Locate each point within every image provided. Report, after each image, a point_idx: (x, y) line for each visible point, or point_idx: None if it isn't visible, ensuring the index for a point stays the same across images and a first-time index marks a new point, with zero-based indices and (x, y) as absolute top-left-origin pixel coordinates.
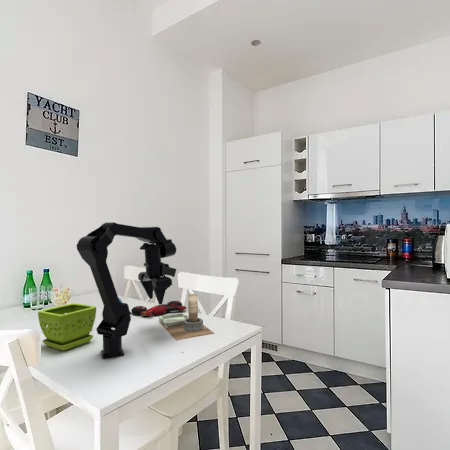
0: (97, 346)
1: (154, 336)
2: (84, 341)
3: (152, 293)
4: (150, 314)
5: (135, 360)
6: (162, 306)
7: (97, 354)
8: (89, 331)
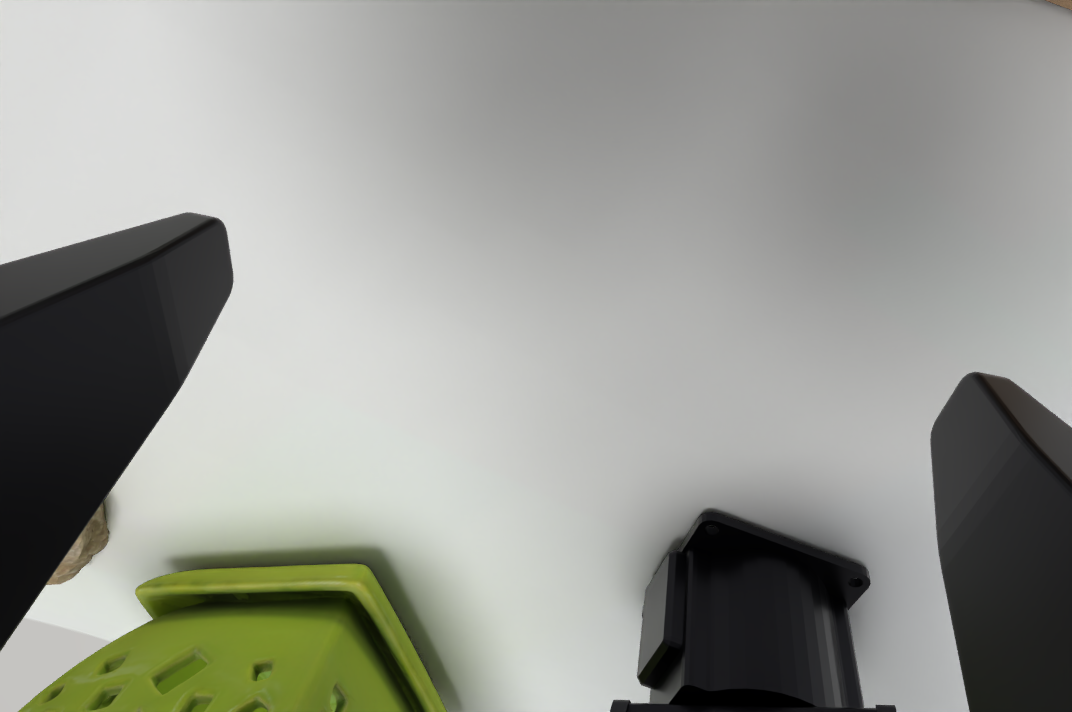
0: (501, 567)
1: (670, 107)
2: (396, 618)
3: (125, 294)
4: None
5: None
6: None
7: None
8: (345, 641)
